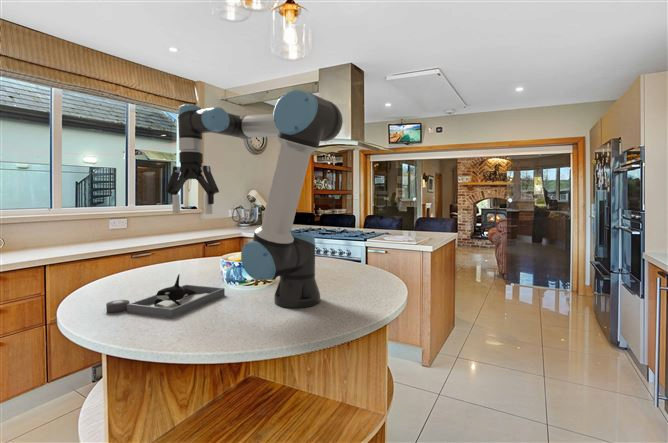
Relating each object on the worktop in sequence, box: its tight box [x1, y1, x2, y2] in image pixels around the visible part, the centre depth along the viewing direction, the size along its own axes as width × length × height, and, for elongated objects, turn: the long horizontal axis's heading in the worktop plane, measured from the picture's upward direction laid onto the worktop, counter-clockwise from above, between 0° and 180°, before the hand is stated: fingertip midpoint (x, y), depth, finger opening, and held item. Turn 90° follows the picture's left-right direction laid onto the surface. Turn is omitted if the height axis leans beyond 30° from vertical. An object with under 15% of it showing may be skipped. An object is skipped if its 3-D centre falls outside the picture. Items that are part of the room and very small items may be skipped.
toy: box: [154, 273, 198, 306], centre depth 118 cm, size 21×10×10 cm, turn 169°
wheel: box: [105, 299, 130, 314], centre depth 110 cm, size 6×6×3 cm
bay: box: [126, 284, 226, 319], centre depth 118 cm, size 16×25×2 cm, turn 162°
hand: (192, 213), depth 126 cm, fingers open, 13 cm apart
